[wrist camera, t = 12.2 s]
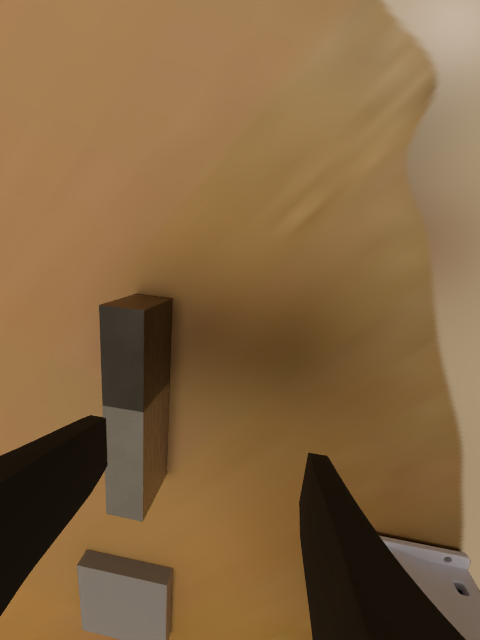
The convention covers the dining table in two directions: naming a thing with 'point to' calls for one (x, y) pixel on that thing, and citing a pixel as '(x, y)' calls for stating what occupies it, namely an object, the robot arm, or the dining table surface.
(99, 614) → the tile
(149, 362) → the tall grey pillar block
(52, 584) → the dining table surface
